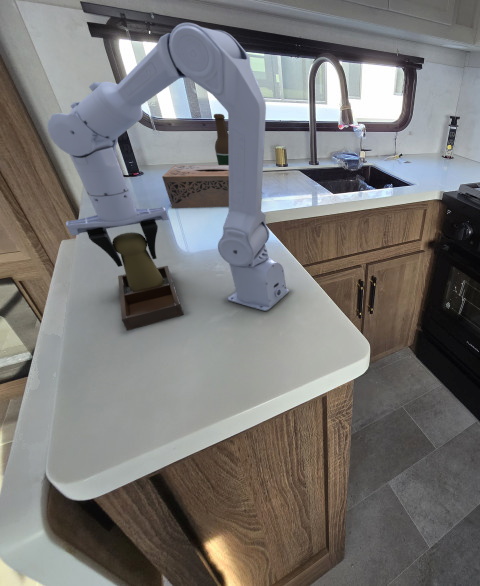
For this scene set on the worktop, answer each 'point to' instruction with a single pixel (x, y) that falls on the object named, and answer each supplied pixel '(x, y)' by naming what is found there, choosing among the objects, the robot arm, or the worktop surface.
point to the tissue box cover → (197, 186)
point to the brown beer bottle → (221, 140)
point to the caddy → (148, 302)
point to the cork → (137, 261)
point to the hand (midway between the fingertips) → (137, 260)
